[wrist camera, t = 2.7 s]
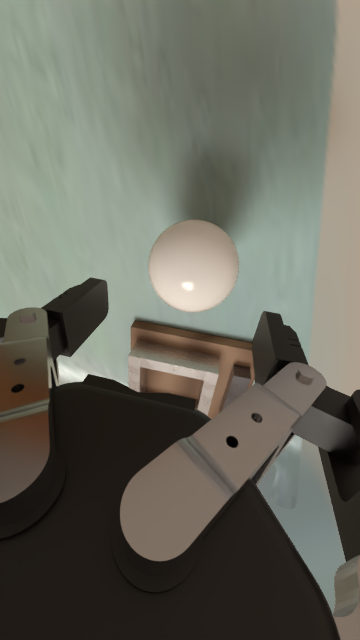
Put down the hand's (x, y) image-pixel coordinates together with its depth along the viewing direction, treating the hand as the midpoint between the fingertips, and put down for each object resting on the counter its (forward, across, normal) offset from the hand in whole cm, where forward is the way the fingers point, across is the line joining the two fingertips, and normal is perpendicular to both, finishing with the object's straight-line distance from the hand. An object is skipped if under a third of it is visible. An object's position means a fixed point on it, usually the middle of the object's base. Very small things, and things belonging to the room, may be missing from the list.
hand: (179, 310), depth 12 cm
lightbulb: (+14, 0, 0) cm, 14 cm away
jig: (+14, -1, +18) cm, 22 cm away
